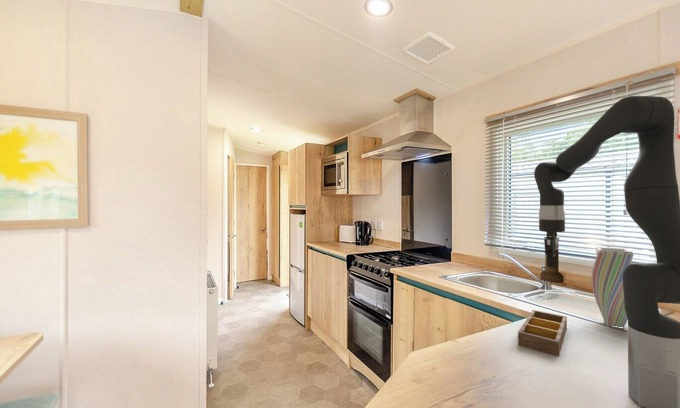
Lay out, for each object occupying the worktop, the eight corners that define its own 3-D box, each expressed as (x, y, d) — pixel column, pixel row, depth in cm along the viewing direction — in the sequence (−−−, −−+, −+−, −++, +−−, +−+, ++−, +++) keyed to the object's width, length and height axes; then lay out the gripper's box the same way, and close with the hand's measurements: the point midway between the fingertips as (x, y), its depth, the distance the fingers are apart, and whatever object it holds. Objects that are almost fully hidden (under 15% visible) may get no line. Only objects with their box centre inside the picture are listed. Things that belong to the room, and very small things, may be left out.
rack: (558, 356, 91) (558, 342, 91) (518, 345, 98) (518, 331, 98) (566, 328, 111) (566, 316, 111) (532, 320, 119) (532, 309, 119)
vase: (632, 323, 116) (631, 248, 116) (643, 336, 105) (642, 253, 105) (588, 316, 124) (588, 245, 124) (594, 327, 112) (593, 249, 112)
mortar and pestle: (541, 281, 103) (541, 230, 103) (539, 277, 108) (539, 229, 108) (565, 283, 100) (565, 231, 99) (561, 279, 105) (561, 230, 105)
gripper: (562, 219, 96) (562, 271, 96) (567, 217, 106) (567, 264, 107) (535, 218, 101) (535, 267, 101) (542, 217, 112) (542, 261, 112)
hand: (551, 265), depth 104 cm, fingers closed on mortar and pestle, 4 cm apart
